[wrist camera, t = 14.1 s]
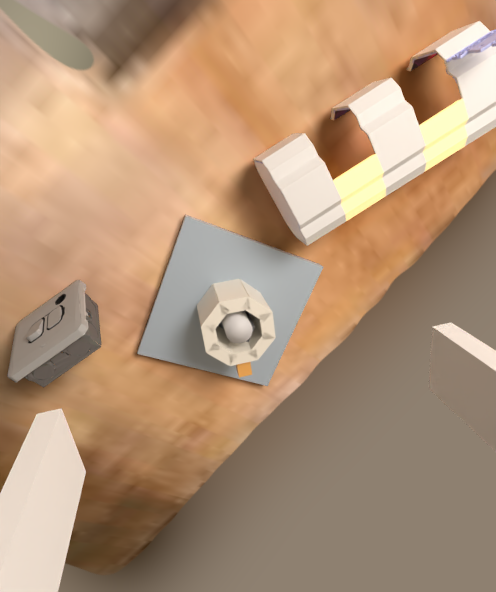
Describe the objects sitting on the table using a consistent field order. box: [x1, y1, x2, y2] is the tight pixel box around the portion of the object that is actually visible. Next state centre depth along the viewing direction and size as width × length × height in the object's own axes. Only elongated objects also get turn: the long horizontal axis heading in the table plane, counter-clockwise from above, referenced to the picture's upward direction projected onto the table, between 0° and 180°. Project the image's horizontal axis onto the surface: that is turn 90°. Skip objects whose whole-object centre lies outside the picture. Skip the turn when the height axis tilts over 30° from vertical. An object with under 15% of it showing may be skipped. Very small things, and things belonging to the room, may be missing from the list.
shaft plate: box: [137, 215, 323, 386], centre depth 47 cm, size 18×18×7 cm
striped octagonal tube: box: [253, 21, 496, 246], centre depth 41 cm, size 25×10×13 cm, turn 121°
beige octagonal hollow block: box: [197, 279, 276, 377], centre depth 47 cm, size 8×10×6 cm
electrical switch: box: [8, 280, 101, 387], centre depth 43 cm, size 9×5×9 cm, turn 123°
